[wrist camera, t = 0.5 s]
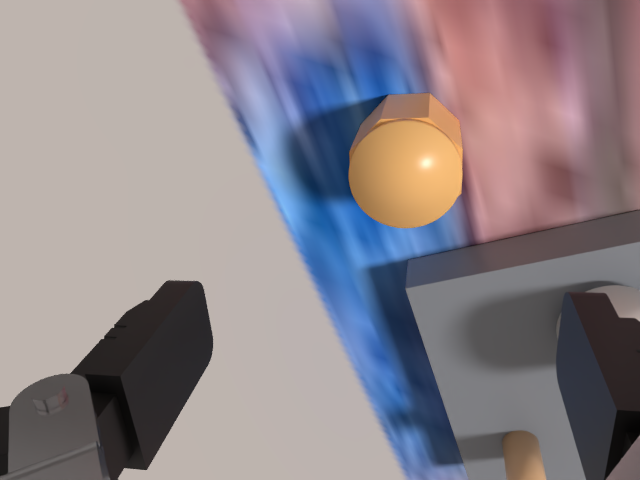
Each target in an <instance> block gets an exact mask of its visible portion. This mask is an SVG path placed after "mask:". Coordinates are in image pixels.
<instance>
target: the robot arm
mask: <svg viewBox="0 0 640 480" xmlns="http://www.w3.org/2000/svg"><path fill="white" fill-rule="evenodd" d="M212 351H213V336H212V330H211V325H210V320H209V314H208V309H207V304H206V298H205V294H204V289H203V286H202V284H201V283H200V282H198V281H170V280H169V281H166V282H165V283H164V284H163V285H162V286H161V288H160V289H159V290H158V291H157V292H156V293H155V294H154V296H153V297H152V298H151V299H150V300H145V301H143V302H142V303H140V304H138V305H137V306H135V307H134V308H132V309H130V310H129V311H127V312H126V313H125V314H124V315H123V316H122V317H121V319H120V320H119V321H118V322H117V323H116V324H115V325H114V328H111V329H110V331H109V332H108V333H107V334H106V335H105V336H104V339H101V340H100V341H99V343H98V344H97V345H96V346H95V347H94V348H93V349H92V351H90V353H89V354H88V355H87V356H86V357H85V358H84V359H83V360H82V361H81V362H80V364H79V365H78V366H77V367H76V368H75V369H74V370H73V371H72V372H71V373H70V374H59V375H54V376H51V377H47V378H44V379H42V380H40V381H38V382H35V383H33V384H32V385H30V386H28V387H27V388H25V389H24V390H23V391H22V392H20V393H19V394H18V395H17V397H15V399H14V400H13V402H12V403H11V406H8V407H1V408H0V480H118V477H119V475H120V474H121V472H122V471H123V469H124V468H130V469H140V470H147V469H148V467H149V465H150V464H151V462H152V460H153V458H154V457H155V455H156V453H157V451H158V450H159V448H160V446H161V445H162V443H163V441H164V440H165V438H166V436H167V434H168V433H169V431H170V429H171V427H172V426H173V424H174V422H175V421H176V419H177V417H178V415H179V414H180V412H181V410H182V409H183V407H184V405H185V403H186V402H187V400H188V398H189V397H190V395H191V393H192V391H193V390H194V388H195V386H196V385H197V383H198V381H199V379H200V377H201V376H202V374H203V373H204V371H205V369H206V367H207V366H208V364H209V362H210V359H211V356H212ZM556 373H557V381H558V385H559V389H560V392H561V396H562V399H563V402H564V406H565V409H566V413H567V416H568V420H569V423H570V426H571V430H572V433H573V437H574V440H575V444H576V447H577V450H578V454H579V457H580V461H581V464H582V468H583V471H584V474H585V478H586V480H640V321H638V320H637V319H636V318H621V317H619V316H618V314H617V312H616V310H615V309H614V307H613V305H612V303H611V301H610V299H609V297H608V295H607V294H606V293H593V292H566V293H565V295H564V298H563V303H562V311H561V319H560V328H559V336H558V344H557V353H556Z"/></svg>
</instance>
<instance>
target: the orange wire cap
mask: <svg viewBox="0 0 640 480" xmlns="http://www.w3.org/2000/svg"><path fill="white" fill-rule="evenodd" d="M462 152H463V148H462V140H461V131H460V123H459V120H458V119H457V118H456V117H455V116H454V115H453V114H452V113H450V112H449V111H448V110H447V109H446V108H445V107H444V106H443V105H442V104H441V103H440V102H439V101H438V100H437V99H436V98H435V97H434V96H433V95H432V94H430V93H417V94H393V95H388V96H387V97H386V98H385V99H384V100H383V101H382V102H381V103H380V104H379V105H378V106H377V107H376V109H375V110H374V111H373V112H372V113H371V114H370V115H369V116H368V117H367V118H366V119H365V120H364V121H363V123H362V124H361V125H360V128H359V130H358V132H357V135H356V137H355V139H354V142H353V144H352V146H351V149H350V151H349V157H350V166H349V184H350V188H351V192H352V195H353V197H354V199H355V200H356V202H357V204H358V205H359V206H360V207H361V209H362V210H363V211H364V212H365V213H366V214H367V215H369V216H370V217H371V218H373V219H375V220H376V221H378V222H380V223H382V224H385V225H388V226H391V227H397V228H414V227H420V226H423V225H426V224H429V223H431V222H433V221H435V220H437V219H438V218H440V217H441V216H442V215H444V214H445V213H446V212H447V211H448V210H449V209H450V208H451V206H452V205H453V204H454V202H455V200H456V199H457V197H458V196H459V195H460V194H461V185H462Z"/></svg>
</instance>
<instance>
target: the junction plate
mask: <svg viewBox="0 0 640 480" xmlns="http://www.w3.org/2000/svg"><path fill="white" fill-rule="evenodd" d="M405 289H406V292H407V295H408V298H409V301H410V304H411V307H412V310H413V313H414V316H415V319H416V322H417V325H418V328H419V331H420V334H421V337H422V340H423V343H424V346H425V349H426V352H427V355H428V358H429V361H430V364H431V367H432V370H433V373H434V376H435V379H436V382H437V385H438V388H439V391H440V394H441V397H442V400H443V403H444V406H445V409H446V412H447V415H448V418H449V421H450V424H451V427H452V430H453V433H454V436H455V439H456V442H457V445H458V448H459V451H460V454H461V457H462V460H463V463H464V466H465V469H466V472H467V475H468V478H469V480H586V478H585V474H584V471H583V468H582V464H581V461H580V457H579V454H578V450H577V447H576V444H575V440H574V437H573V433H572V430H571V426H570V423H569V420H568V416H567V413H566V409H565V406H564V402H563V399H562V396H561V392H560V389H559V385H558V381H557V373H556V353H557V344H558V336H559V328H560V319H561V311H562V303H563V298H564V295H565V293H566V292H593V293H606V294H607V295H608V297H609V299H610V301H611V303H612V305H613V307H614V309H615V310H616V312H617V314H618V316H619V317H621V318H636V319H637V320H638V321H640V210H638V211H633V212H628V213H624V214H619V215H614V216H610V217H605V218H601V219H596V220H591V221H587V222H582V223H577V224H573V225H568V226H563V227H559V228H554V229H549V230H545V231H540V232H536V233H531V234H526V235H522V236H517V237H512V238H508V239H503V240H498V241H494V242H489V243H485V244H480V245H475V246H471V247H466V248H461V249H457V250H452V251H447V252H443V253H438V254H433V255H429V256H424V257H420V258H415V259H410V260H408V265H407V276H406V286H405Z"/></svg>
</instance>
